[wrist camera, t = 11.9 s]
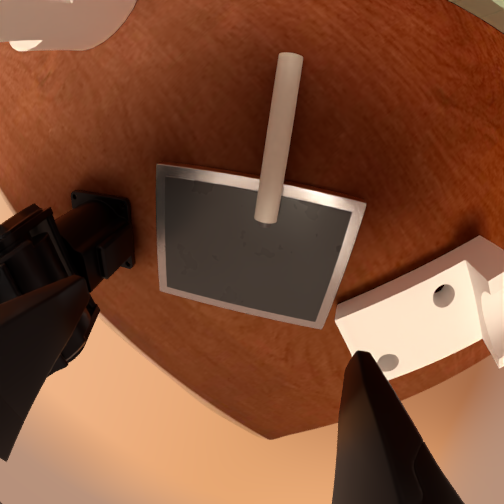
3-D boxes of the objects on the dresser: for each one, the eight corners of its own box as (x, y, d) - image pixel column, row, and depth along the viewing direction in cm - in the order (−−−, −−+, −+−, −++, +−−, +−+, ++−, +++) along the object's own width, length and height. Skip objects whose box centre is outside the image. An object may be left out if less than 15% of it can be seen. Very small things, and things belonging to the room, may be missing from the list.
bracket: (475, 232, 17) (520, 261, 10) (492, 304, 18) (527, 351, 11) (337, 299, 23) (328, 352, 16) (367, 362, 23) (365, 422, 16)
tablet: (163, 285, 24) (159, 291, 24) (162, 160, 19) (155, 164, 18) (322, 322, 23) (322, 330, 22) (364, 198, 17) (367, 203, 17)
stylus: (251, 227, 17) (277, 50, 13) (255, 220, 18) (279, 57, 14) (274, 231, 17) (303, 54, 13) (276, 224, 18) (303, 60, 14)
